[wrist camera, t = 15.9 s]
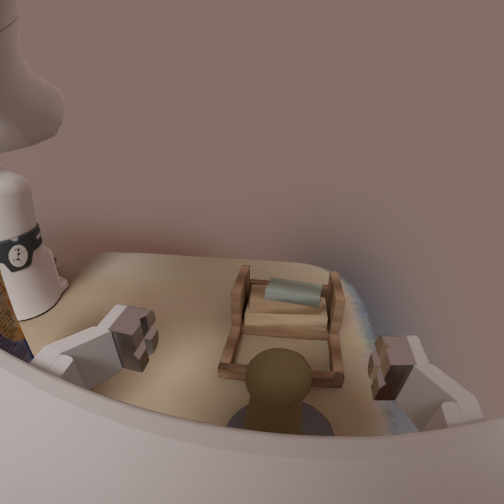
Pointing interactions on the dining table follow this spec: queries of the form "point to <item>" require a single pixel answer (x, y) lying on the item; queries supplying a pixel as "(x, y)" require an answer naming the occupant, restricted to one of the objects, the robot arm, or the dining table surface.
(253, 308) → the rack
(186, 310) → the dining table surface
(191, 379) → the dining table surface
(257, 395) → the cork
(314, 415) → the coaster
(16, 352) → the beverage box
